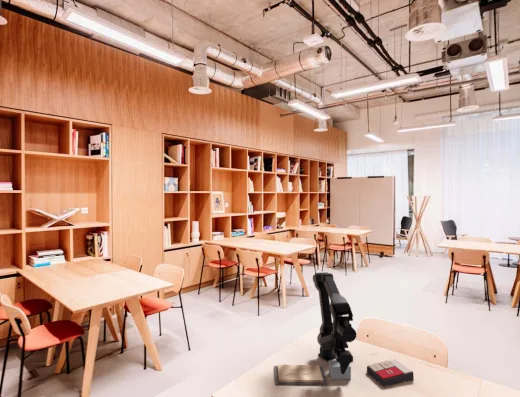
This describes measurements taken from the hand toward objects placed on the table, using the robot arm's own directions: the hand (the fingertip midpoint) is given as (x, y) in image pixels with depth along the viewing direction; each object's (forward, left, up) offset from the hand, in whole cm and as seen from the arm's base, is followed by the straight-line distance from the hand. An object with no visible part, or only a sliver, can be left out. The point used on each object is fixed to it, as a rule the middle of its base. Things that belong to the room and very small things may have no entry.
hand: (339, 367), depth 133 cm
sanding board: (+14, -9, -4) cm, 17 cm away
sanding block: (0, 0, -4) cm, 4 cm away
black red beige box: (-18, +11, -4) cm, 21 cm away
